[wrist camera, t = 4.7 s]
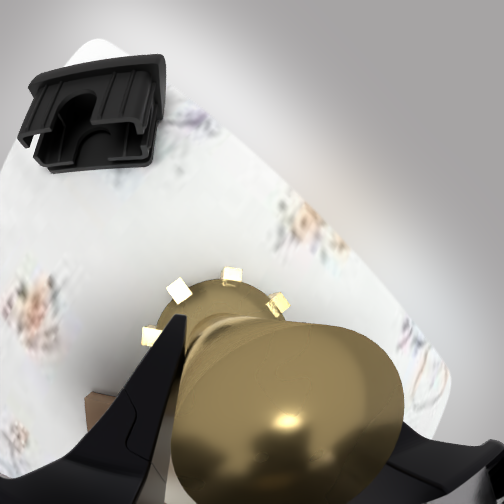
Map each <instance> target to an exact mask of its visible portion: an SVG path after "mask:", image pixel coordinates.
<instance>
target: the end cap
mask: <svg viewBox="0 0 504 504" xmlns="http://www.w3.org/2000/svg"><path fill="white" fill-rule="evenodd" d="M28 89H29V90H30V92H31V94H32V96H33V97H34V99H33V101H32V103H31V106H30V108H29V110H28V112H27V114H26V117H25V119H24V122H23V124H22V126H21V129H20V131H19V134H18V137H17V139H18V140H19V142H20V143H21V144H22V145H23V146H24V147H25V148H30V145H31V142H32V139H33V136H34V135H36V134H40V133H41V134H40V137H39V140H38V143H37V146H36V149H35V152H34V155H33V158H34V159H35V160H36V161H37V162H38V163H39V164H40V165H41V166H43V167H47V168H48V170H49V171H50V172H51V173H53V174H55V173H64V172H73V171H84V170H96V169H111V168H130V167H146V166H148V165H150V164H151V162H152V158H153V151H154V144H155V137H156V130H157V124H158V120H161V119H163V113H164V104H165V92H166V64H165V59H164V56H163V55H161V54H151V55H138V56H127V57H118V58H111V59H104V60H98V61H92V62H86V63H81V64H76V65H72V66H67V67H63V68H59V69H55V70H51V71H48V72H44V73H41V74H39V75H37V76H36V77H35V78H34V79H33V80H32V81H31V83H30V84H29V86H28Z"/></svg>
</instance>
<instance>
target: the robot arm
mask: <svg viewBox="0 0 504 504" xmlns="http://www.w3.org/2000/svg"><path fill="white" fill-rule="evenodd" d="M301 323H305V322H301ZM186 333H187V315H185V314H174V315H173V317H172V318H171V319H170V321H169V322H168V324H167V325H166V326H165V328H164V329H163V331H162V332H161V334H160V335H159V336H158V338H157V339H156V341H155V342H154V343H153V345H152V346H151V348H150V349H149V351H148V352H147V353H146V355H145V356H144V358H143V359H142V361H141V362H140V364H139V365H138V366H137V368H136V369H135V371H134V372H133V374H132V375H131V377H130V378H129V380H128V381H127V383H126V384H125V385H124V389H122V390H121V391H120V393H119V394H118V396H117V397H116V399H115V400H114V401H113V403H112V404H111V405H110V407H109V408H108V409H107V411H106V412H105V413H104V414H103V415H102V417H101V418H100V419H99V420H98V421H97V423H96V424H95V425H94V426H93V427H92V428H91V429H90V430H89V431H88V433H87V434H86V435H85V436H84V437H83V438H82V439H81V440H80V442H79V443H78V444H77V445H76V446H75V447H74V448H73V449H72V450H71V451H70V452H69V453H67V454H66V455H65V456H63V457H62V458H60V459H58V460H56V461H54V462H52V463H50V464H47V465H45V466H43V467H41V468H39V469H37V470H34V471H32V472H30V473H28V474H25V475H23V476H21V477H18V478H9V477H7V476H5V475H3V474H1V473H0V504H164V500H165V492H166V483H167V476H168V469H169V462H170V455H171V437H172V429H173V423H174V416H175V410H176V404H177V398H178V392H179V386H180V381H181V375H182V370H183V364H184V359H185V347H186ZM346 504H504V444H503V443H501V442H500V441H497V440H492V439H490V440H488V441H486V442H485V443H483V444H482V445H480V446H466V445H458V444H452V443H445V442H440V441H434V440H430V439H427V438H425V437H423V436H421V435H419V434H418V433H417V432H415V431H414V430H413V429H412V428H411V427H409V426H408V425H407V424H406V423H405V422H402V427H401V431H400V434H399V437H398V440H397V443H396V445H395V448H394V450H393V452H392V454H391V456H390V457H389V459H388V461H387V462H386V464H385V466H384V467H383V468H382V470H381V471H380V472H379V474H378V475H377V476H376V477H375V479H374V480H373V481H372V482H371V483H370V484H369V485H368V486H367V487H366V488H365V489H364V490H363V491H362V492H361V493H359V494H358V495H357V496H356V497H354V498H353V499H352V500H350V501H349V502H348V503H346Z"/></svg>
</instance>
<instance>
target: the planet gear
mask: <svg viewBox="0 0 504 504" xmlns="http://www.w3.org/2000/svg"><path fill="white" fill-rule="evenodd" d="M241 276H242V269H236V268H230V267H224V269H223V270H222V271H221V277H220V279H214V280H208V281H204V282H201V283H197V284H195V285H193V286H191V287H187V286H186V284H185V283H184V282H183V280H182V279H181V277H180V278H179V279H178V280H176V281H175V282H174V283H172V284H171V285H169V286H168V287H167V288H166V289H167V290H168V291H169V293H170V294H171V296H172V297H173V299H172V301H171V302H170V303H169V304H168V305H167V306H166V308H165V309H164V311H163V312H162V314H161V316H160V318H159V320H158V323H157V326H153V325H148V326H145V327H143V333H142V342H141V345H146V346H152V345H153V343H154V342H155V341H156V339H157V338H158V336H159V335H160V334H161V332H162V331H163V329H164V328H165V326H166V325H167V324H168V322H169V321H170V319H171V318H172V317H173V315H174V314H185V315H187V333H186V347H185V359H184V364H183V370H182V375H181V381H180V386H179V392H178V398H177V404H176V410H175V416H174V423H173V429H172V437H171V459H172V463H173V467H174V471H175V473H176V476H177V478H178V480H179V482H180V484H181V486H182V487H183V489H184V490H185V491H186V493H187V494H188V495H189V496H190V497H191V498H192V499H193V501H194V502H195V503H197V504H346V503H348V502H349V501H350V500H352V499H353V498H354V497H356V496H357V495H358V494H359V493H361V492H362V491H363V490H364V489H365V488H366V487H367V486H368V485H369V484H370V483H371V482H372V481H373V480H374V479H375V477H376V476H377V475H378V474H379V472H380V471H381V470H382V468H383V467H384V466H385V464H386V462H387V461H388V459H389V457H390V456H391V454H392V452H393V450H394V448H395V445H396V443H397V440H398V437H399V434H400V431H401V427H402V422H403V416H404V393H403V387H402V383H401V380H400V377H399V374H398V371H397V369H396V367H395V366H394V364H393V362H392V360H391V359H390V358H389V356H388V355H387V354H386V352H385V351H384V350H383V349H382V348H380V347H379V346H378V345H377V344H376V343H375V342H373V341H372V340H370V339H369V338H367V337H366V336H364V335H362V334H359V333H357V332H355V331H352V330H349V329H346V328H342V327H337V326H330V325H321V324H311V323H301V322H291V321H285V319H284V317H283V315H282V312H284V311H285V310H286V309H287V308H288V307H290V306H291V305H290V304H289V303H288V302H287V300H286V299H285V298H284V296H283V295H282V294H281V292H279V293H274V294H270V295H269V296H267V295H266V294H264V293H263V292H261V291H260V290H258V289H257V288H255V287H253V286H251V285H249V284H246V283H243V282H241Z"/></svg>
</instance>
